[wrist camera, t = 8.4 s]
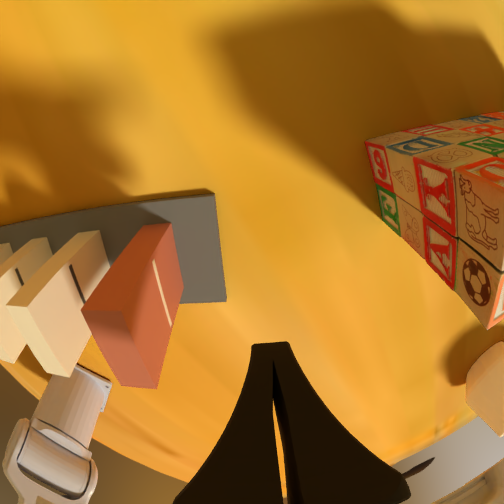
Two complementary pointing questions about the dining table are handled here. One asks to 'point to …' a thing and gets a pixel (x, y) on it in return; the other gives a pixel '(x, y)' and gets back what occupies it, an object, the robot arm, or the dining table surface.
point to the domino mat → (126, 227)
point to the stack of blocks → (449, 203)
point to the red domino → (137, 306)
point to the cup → (488, 387)
